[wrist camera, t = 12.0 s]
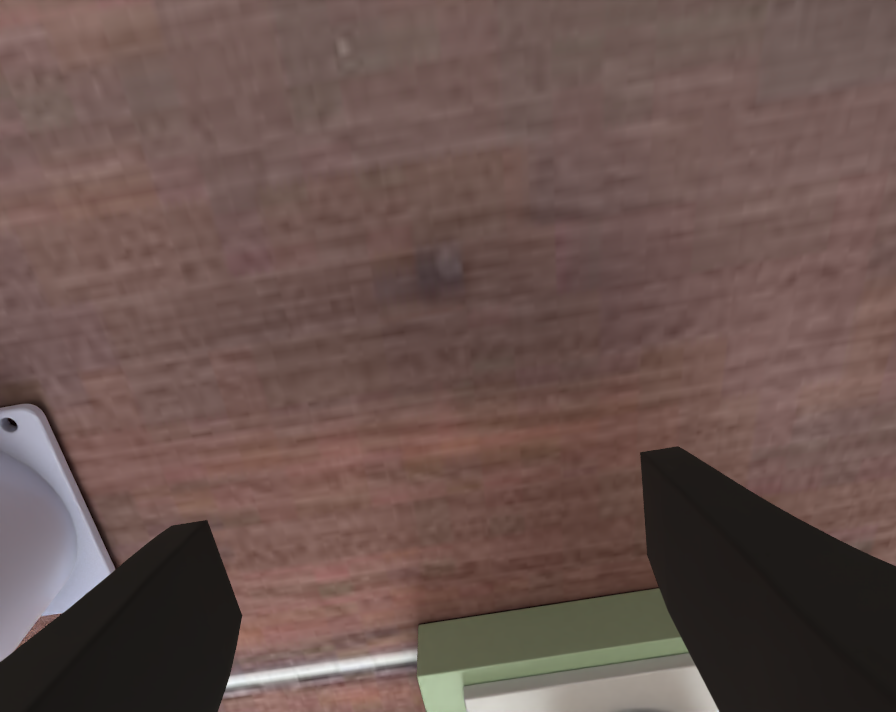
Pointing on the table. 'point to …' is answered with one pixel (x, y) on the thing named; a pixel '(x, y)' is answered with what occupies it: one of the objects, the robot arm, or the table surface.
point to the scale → (562, 660)
